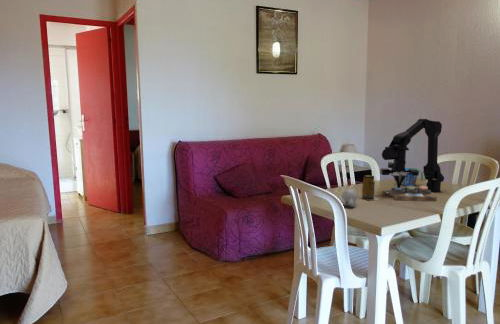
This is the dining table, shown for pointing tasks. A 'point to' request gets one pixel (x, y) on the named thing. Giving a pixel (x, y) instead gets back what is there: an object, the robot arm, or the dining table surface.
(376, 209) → the dining table surface
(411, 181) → the snack cup
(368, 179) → the condiment
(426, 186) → the terracotta button
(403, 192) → the console
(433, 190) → the robot arm
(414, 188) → the sage button
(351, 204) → the round bodied animal figurine
